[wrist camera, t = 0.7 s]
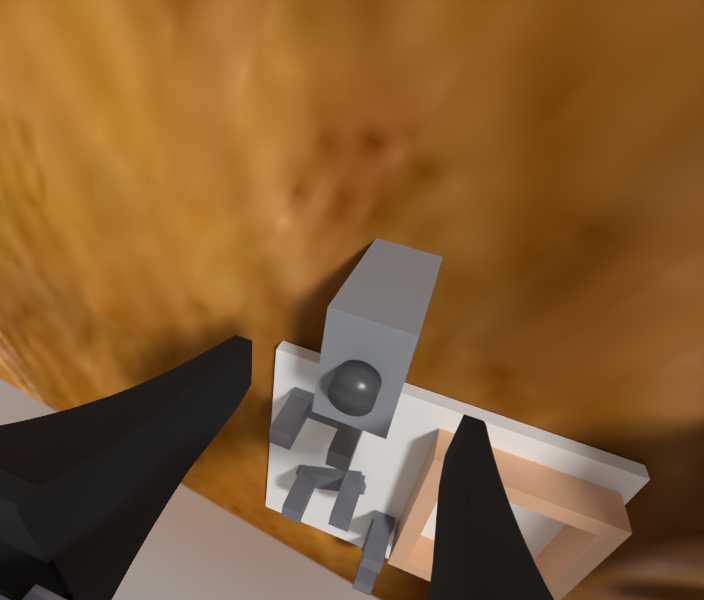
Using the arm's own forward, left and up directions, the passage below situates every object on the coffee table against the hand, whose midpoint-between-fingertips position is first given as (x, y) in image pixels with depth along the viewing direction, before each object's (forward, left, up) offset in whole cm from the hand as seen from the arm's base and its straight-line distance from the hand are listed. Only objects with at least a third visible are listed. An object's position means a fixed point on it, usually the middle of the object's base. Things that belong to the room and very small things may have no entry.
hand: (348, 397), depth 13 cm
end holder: (-9, +12, -6) cm, 16 cm away
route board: (-4, +13, -7) cm, 15 cm away
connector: (0, 0, -7) cm, 7 cm away
